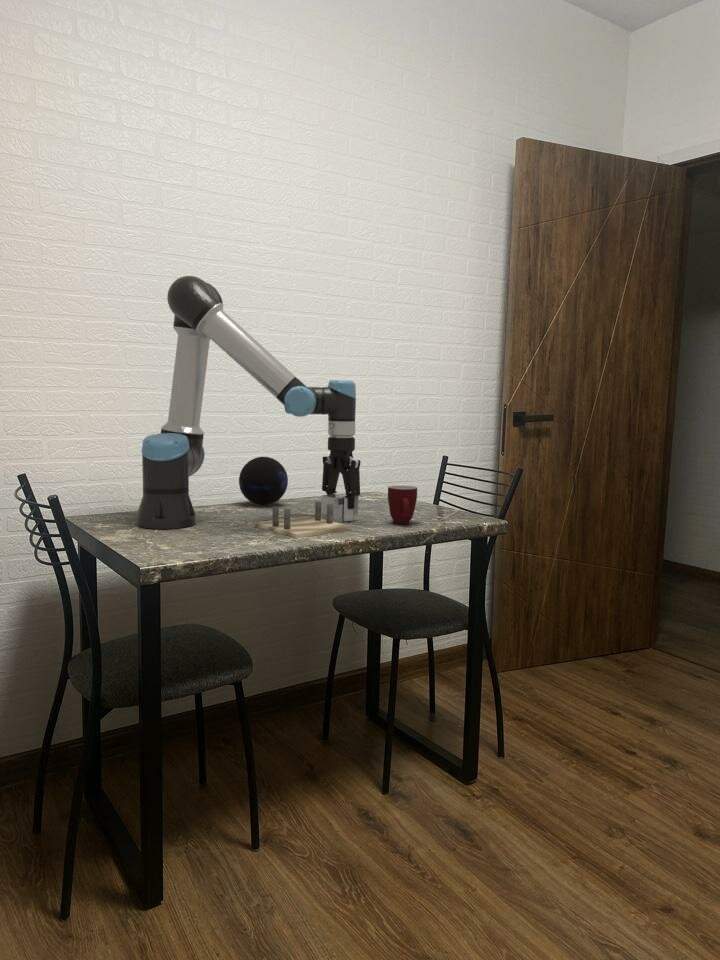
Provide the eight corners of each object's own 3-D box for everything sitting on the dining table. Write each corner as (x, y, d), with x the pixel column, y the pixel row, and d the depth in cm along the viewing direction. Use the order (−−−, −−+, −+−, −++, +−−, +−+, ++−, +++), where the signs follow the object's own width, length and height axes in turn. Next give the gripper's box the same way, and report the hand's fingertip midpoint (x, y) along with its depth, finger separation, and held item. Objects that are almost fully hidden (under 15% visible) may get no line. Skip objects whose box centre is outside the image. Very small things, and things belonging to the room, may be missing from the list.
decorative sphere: (288, 509, 221) (289, 459, 219) (238, 508, 219) (238, 458, 217) (286, 501, 236) (287, 454, 234) (239, 501, 234) (239, 454, 232)
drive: (320, 520, 204) (321, 495, 203) (345, 517, 210) (345, 492, 209) (333, 523, 200) (334, 497, 199) (358, 519, 206) (358, 495, 205)
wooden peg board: (254, 526, 192) (254, 503, 191) (308, 519, 204) (309, 498, 203) (296, 538, 179) (296, 513, 178) (351, 529, 191) (352, 507, 190)
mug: (423, 527, 197) (424, 490, 195) (394, 528, 195) (395, 490, 193) (410, 520, 207) (411, 485, 205) (383, 521, 205) (384, 485, 203)
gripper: (309, 434, 207) (308, 515, 210) (354, 439, 193) (352, 525, 195) (329, 434, 212) (328, 512, 215) (375, 438, 198) (373, 522, 200)
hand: (340, 518), depth 205 cm, fingers open, 6 cm apart
